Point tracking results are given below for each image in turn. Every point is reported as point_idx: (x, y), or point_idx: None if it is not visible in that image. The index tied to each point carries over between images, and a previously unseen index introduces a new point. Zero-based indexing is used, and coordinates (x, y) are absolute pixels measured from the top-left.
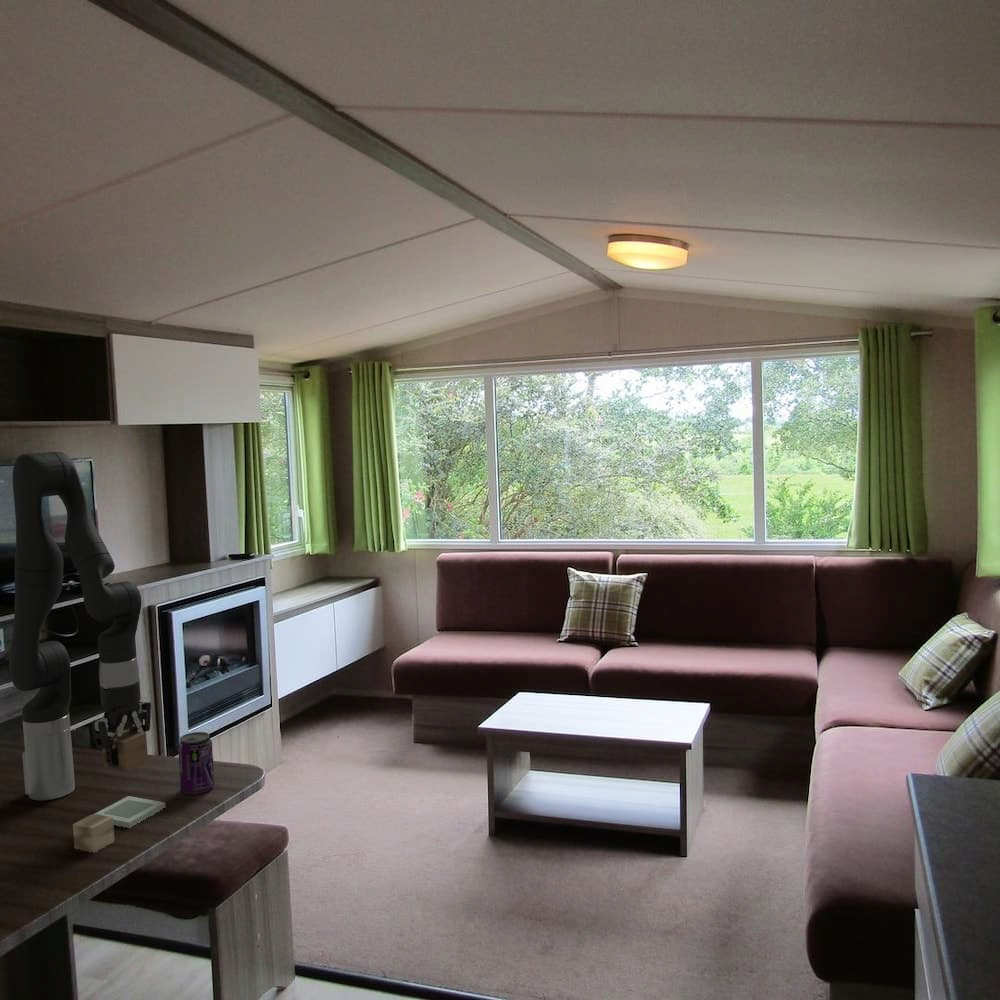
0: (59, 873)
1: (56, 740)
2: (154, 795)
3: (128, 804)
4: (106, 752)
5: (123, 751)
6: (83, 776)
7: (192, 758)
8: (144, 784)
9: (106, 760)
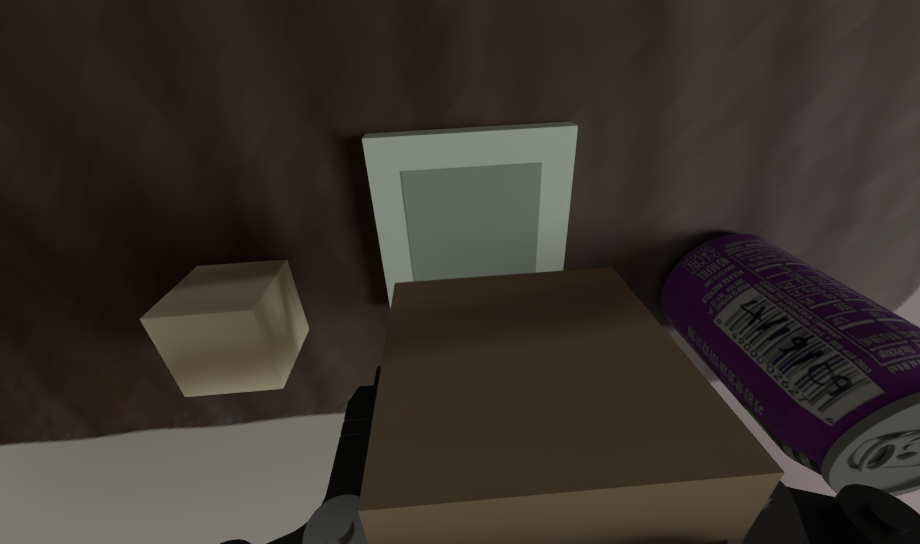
0: (95, 346)
1: None
2: (645, 175)
3: (503, 200)
4: (330, 486)
5: None
6: None
7: (749, 412)
8: (760, 25)
9: (346, 413)
